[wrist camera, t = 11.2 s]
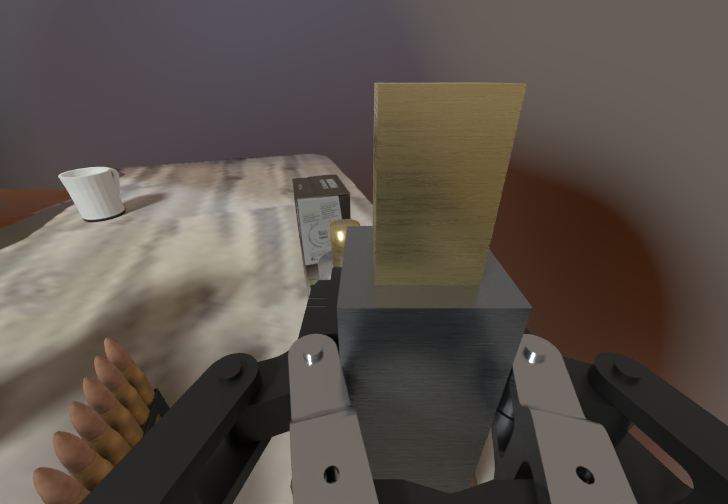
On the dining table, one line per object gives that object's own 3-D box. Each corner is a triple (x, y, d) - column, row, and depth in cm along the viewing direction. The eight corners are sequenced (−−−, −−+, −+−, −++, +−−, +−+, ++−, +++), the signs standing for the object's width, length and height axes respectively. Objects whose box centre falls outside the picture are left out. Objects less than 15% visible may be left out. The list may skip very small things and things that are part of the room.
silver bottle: (323, 367, 33) (309, 239, 25) (329, 330, 38) (318, 213, 30) (374, 367, 33) (376, 238, 25) (373, 330, 38) (374, 213, 30)
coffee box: (354, 302, 43) (351, 193, 35) (309, 310, 42) (294, 198, 34) (342, 268, 51) (337, 172, 43) (304, 274, 49) (291, 176, 41)
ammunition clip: (155, 426, 28) (96, 331, 22) (177, 420, 28) (126, 325, 22) (114, 586, 19) (-3, 501, 13) (148, 572, 20) (50, 484, 14)
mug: (98, 225, 67) (76, 179, 62) (72, 220, 69) (48, 175, 64) (144, 207, 76) (127, 166, 71) (118, 203, 78) (101, 163, 73)
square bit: (351, 539, 12) (322, 85, 4) (354, 437, 16) (341, 82, 8) (450, 540, 12) (611, 83, 4) (431, 437, 16) (499, 82, 8)
